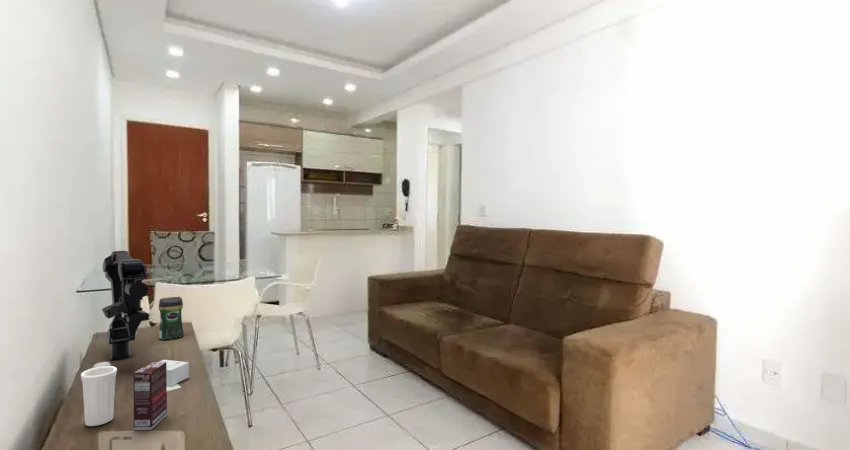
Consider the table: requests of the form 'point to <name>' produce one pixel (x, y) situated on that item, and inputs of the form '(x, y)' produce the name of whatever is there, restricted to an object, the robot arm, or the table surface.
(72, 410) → the table surface
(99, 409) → the cup
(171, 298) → the coffee jar
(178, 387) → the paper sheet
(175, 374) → the small box
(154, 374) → the supplement box
